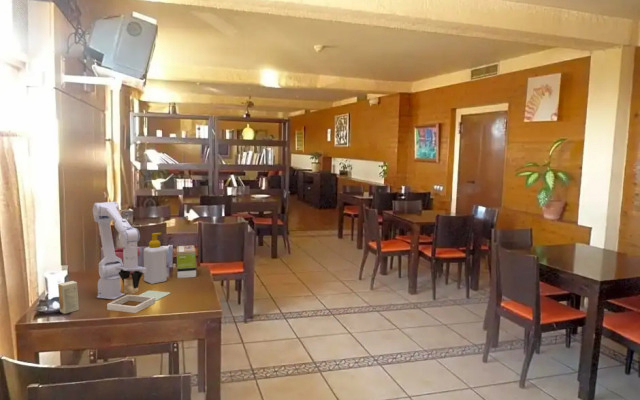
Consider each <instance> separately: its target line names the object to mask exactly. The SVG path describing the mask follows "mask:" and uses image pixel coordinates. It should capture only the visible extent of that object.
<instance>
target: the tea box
mask: <svg viewBox="0 0 640 400" xmlns="http://www.w3.org/2000/svg"><path fill="white" fill-rule="evenodd" d="M176 270H177V271H176V273H177V278H178V279H185V278H196V277H197V254H196V248H195V245H193V244H192V245H179V246H177V245H176Z"/></svg>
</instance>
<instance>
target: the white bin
mask: <svg viewBox="0 0 640 400" xmlns="http://www.w3.org/2000/svg"><path fill="white" fill-rule="evenodd" d="M127 302H137V303H138V304H137V305H128V304H127V305H125V303H127ZM154 304H156V301H155V297H147V296H138V295H137V294H136V295H135V294H125V295H123V296H121V297H118V298H116V299H114V300H112V301H110V302H108V303H107V304H106V310H107V311H115V312H123V313H131V314H137V313H139V312H140V311H142V310H144V309H146V308H148V307H150V306H152V305H154Z"/></svg>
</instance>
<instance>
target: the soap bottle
mask: <svg viewBox="0 0 640 400" xmlns="http://www.w3.org/2000/svg"><path fill="white" fill-rule="evenodd" d="M160 235H162V232H153V233H151V240H149V242H148V247H145V248H143V267H145V268H147V272H145V273H143V276H144V277H143V281H144V282H147V283H148V284H152V285H153V284H160V283H163V282H167V280H168V279H167V277H168V276H167V274H168V273H167V250H166V247H163V246H161V241H160V240H158V236H160Z"/></svg>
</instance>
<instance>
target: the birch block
mask: <svg viewBox="0 0 640 400" xmlns="http://www.w3.org/2000/svg"><path fill="white" fill-rule="evenodd" d="M123 287H124V289H123V291H124V292H123V293H125V294H130V295H134V294H135V293H137V292H139V287H138V288H135V289H134V287H133V278H132V276H129V278H126V279H124V283H123Z"/></svg>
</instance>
